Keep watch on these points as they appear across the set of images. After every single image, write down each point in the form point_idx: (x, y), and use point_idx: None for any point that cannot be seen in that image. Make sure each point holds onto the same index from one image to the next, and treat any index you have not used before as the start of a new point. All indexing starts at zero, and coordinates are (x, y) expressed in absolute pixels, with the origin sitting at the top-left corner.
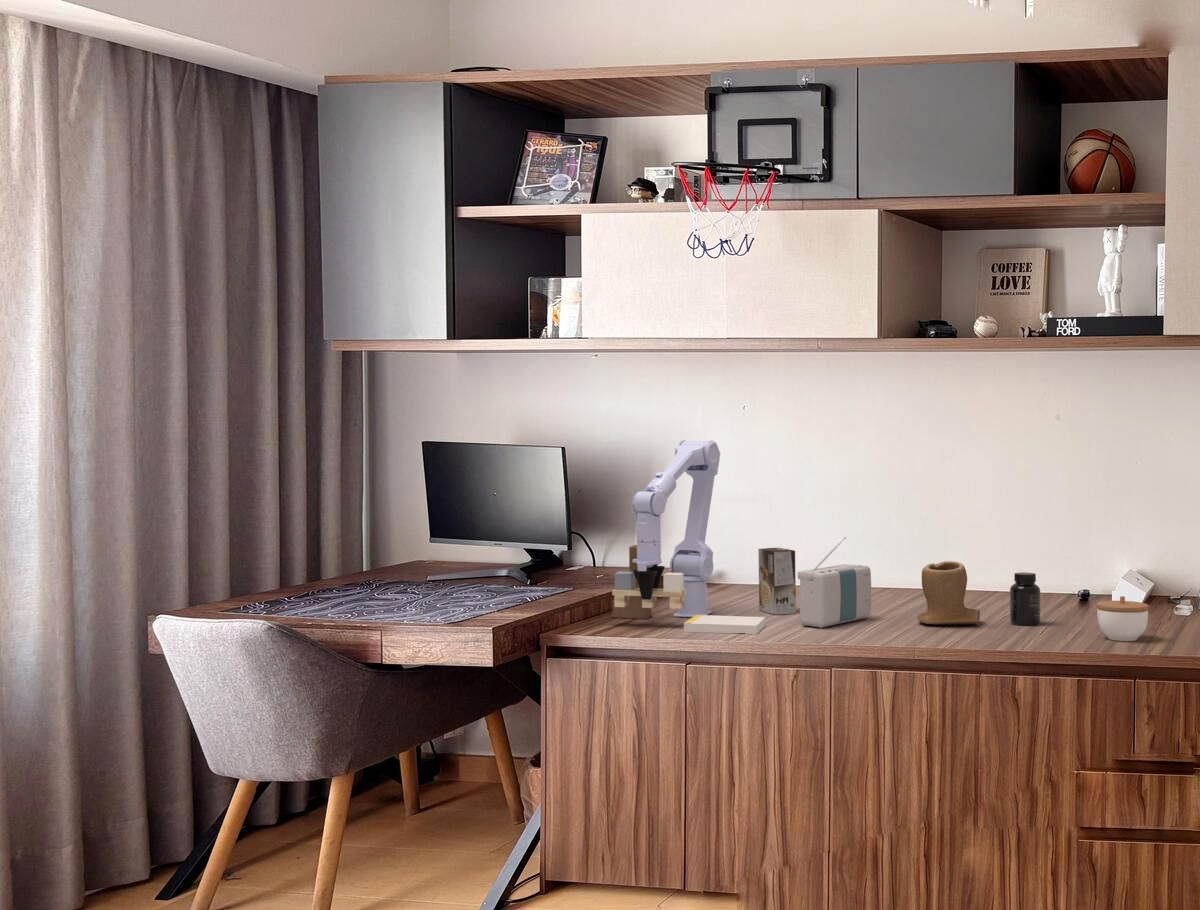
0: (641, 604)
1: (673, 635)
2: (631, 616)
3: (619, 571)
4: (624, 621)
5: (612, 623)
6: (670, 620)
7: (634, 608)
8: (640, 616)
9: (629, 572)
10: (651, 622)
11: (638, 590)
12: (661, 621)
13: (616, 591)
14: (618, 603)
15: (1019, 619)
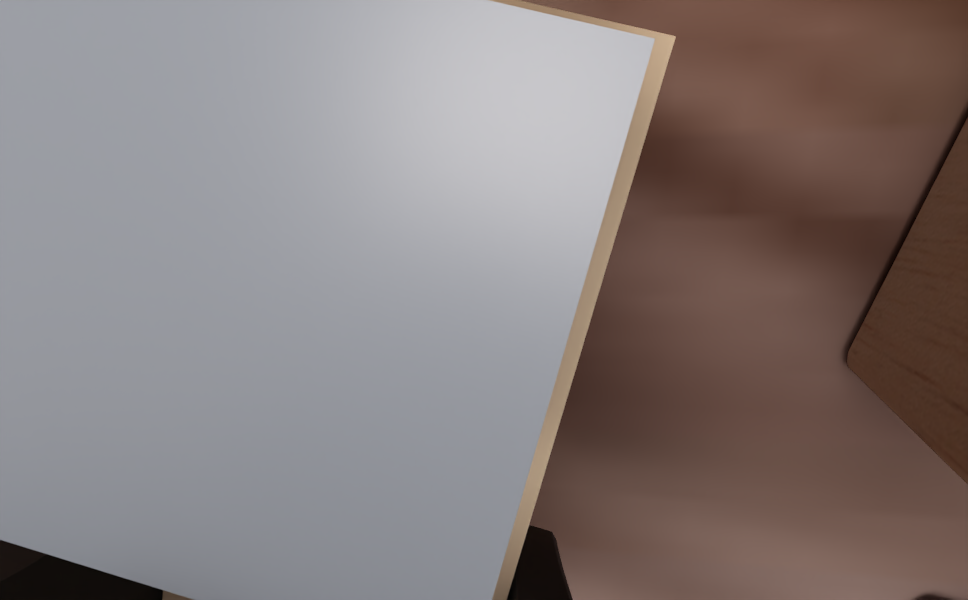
0: (938, 374)
1: None
2: (925, 214)
3: (622, 60)
4: (727, 138)
5: (600, 9)
6: (732, 552)
7: (954, 271)
8: (876, 311)
9: (257, 493)
10: (633, 395)
11: None
12: (683, 480)
13: None
14: None
15: None
